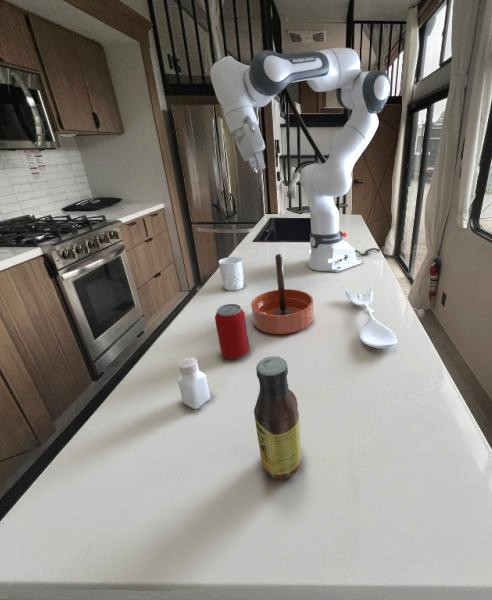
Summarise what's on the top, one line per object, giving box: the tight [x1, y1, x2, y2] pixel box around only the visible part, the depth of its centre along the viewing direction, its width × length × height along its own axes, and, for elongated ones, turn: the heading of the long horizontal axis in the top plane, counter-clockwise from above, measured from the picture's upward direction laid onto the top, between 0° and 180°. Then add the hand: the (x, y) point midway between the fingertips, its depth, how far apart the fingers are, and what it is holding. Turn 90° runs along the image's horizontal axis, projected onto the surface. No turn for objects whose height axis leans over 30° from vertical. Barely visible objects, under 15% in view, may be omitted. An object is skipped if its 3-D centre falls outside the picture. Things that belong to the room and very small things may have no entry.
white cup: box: [218, 256, 245, 291], centre depth 114 cm, size 8×8×10 cm
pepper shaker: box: [177, 356, 211, 410], centre depth 62 cm, size 4×4×10 cm
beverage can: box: [214, 303, 250, 359], centre depth 76 cm, size 7×7×12 cm
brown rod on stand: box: [274, 253, 293, 315], centre depth 89 cm, size 5×5×19 cm
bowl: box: [250, 288, 315, 335], centre depth 92 cm, size 17×17×6 cm
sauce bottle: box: [253, 355, 302, 480], centre depth 47 cm, size 6×6×20 cm
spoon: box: [345, 288, 398, 349], centre depth 91 cm, size 9×32×4 cm, turn 5°
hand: (259, 171), depth 100 cm, fingers open, 8 cm apart
